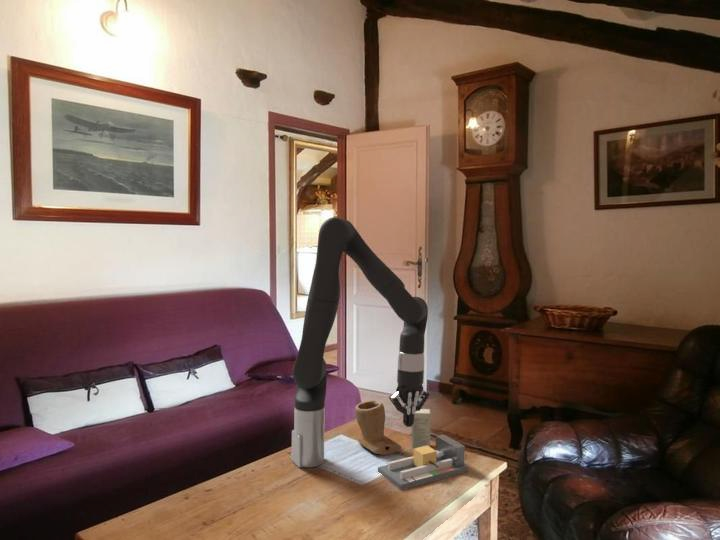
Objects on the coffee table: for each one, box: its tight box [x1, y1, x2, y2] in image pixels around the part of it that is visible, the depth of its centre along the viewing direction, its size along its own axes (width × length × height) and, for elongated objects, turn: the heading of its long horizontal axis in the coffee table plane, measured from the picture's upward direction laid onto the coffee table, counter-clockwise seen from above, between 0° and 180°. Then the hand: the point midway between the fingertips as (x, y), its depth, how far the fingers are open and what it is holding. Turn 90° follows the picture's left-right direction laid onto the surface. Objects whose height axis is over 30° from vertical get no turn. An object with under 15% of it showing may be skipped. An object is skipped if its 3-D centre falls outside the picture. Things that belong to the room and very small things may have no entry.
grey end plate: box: [435, 434, 466, 468], centre depth 159 cm, size 3×10×6 cm, turn 29°
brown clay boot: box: [354, 399, 403, 456], centre depth 171 cm, size 15×12×15 cm
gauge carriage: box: [412, 446, 444, 468], centre depth 154 cm, size 9×9×5 cm
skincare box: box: [411, 408, 431, 450], centre depth 172 cm, size 6×4×12 cm
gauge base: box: [377, 451, 469, 491], centre depth 155 cm, size 24×12×4 cm, turn 119°
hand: (408, 425), depth 151 cm, fingers closed
